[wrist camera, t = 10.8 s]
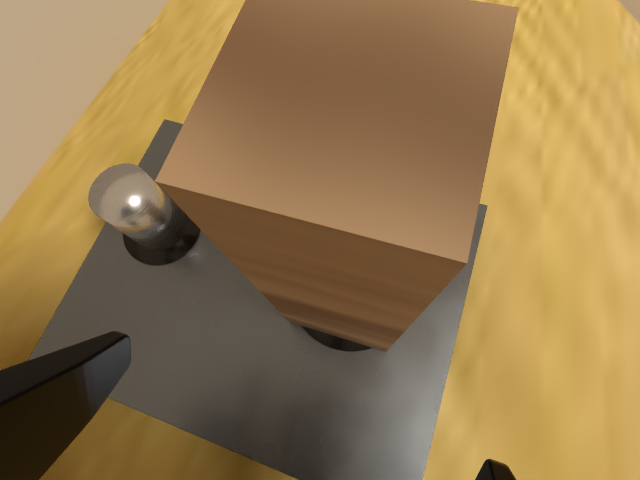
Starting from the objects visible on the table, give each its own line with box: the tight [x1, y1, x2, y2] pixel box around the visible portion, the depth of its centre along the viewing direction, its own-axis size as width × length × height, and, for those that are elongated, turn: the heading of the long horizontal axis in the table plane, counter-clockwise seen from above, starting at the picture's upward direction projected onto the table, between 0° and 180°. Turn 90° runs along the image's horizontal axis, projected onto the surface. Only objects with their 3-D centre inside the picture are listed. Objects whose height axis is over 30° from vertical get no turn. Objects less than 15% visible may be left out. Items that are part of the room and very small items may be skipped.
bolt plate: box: [29, 119, 487, 480], centre depth 18 cm, size 14×18×5 cm
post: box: [155, 0, 518, 352], centre depth 12 cm, size 4×4×13 cm
